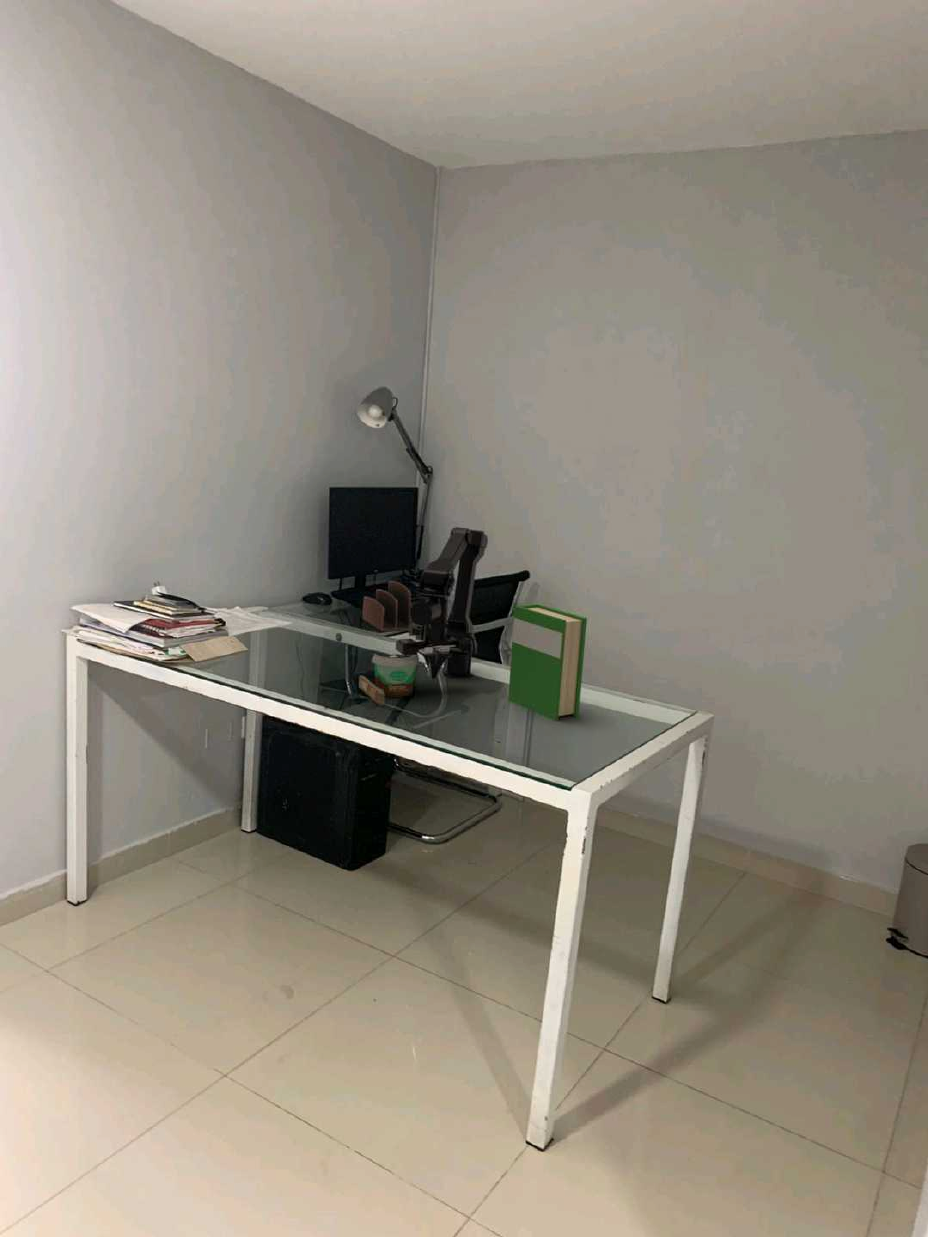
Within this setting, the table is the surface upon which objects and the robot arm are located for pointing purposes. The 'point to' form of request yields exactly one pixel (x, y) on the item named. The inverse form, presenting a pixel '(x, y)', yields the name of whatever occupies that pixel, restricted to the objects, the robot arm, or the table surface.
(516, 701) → the hardback book
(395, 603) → the letter holder
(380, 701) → the rail
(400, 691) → the food container
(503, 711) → the table surface
